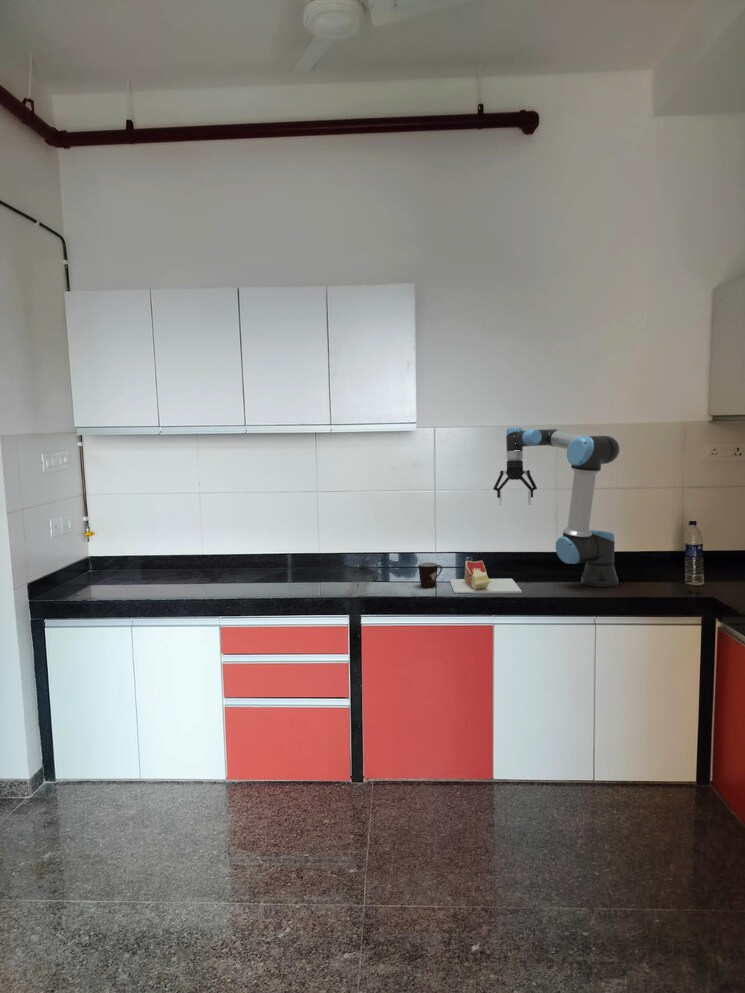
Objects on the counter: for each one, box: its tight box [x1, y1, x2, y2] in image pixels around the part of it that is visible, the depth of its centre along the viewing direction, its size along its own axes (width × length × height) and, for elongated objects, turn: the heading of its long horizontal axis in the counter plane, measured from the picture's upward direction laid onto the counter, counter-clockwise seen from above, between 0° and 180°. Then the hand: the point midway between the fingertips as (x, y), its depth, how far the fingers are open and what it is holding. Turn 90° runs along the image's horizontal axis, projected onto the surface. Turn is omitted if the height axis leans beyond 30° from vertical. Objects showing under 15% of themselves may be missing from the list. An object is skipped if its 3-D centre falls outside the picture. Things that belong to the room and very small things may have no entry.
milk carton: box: [464, 560, 492, 589], centre depth 276 cm, size 9×9×20 cm
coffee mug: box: [417, 561, 443, 589], centre depth 281 cm, size 12×9×10 cm
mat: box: [449, 578, 523, 594], centre depth 279 cm, size 28×23×1 cm
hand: (515, 504), depth 306 cm, fingers open, 13 cm apart
